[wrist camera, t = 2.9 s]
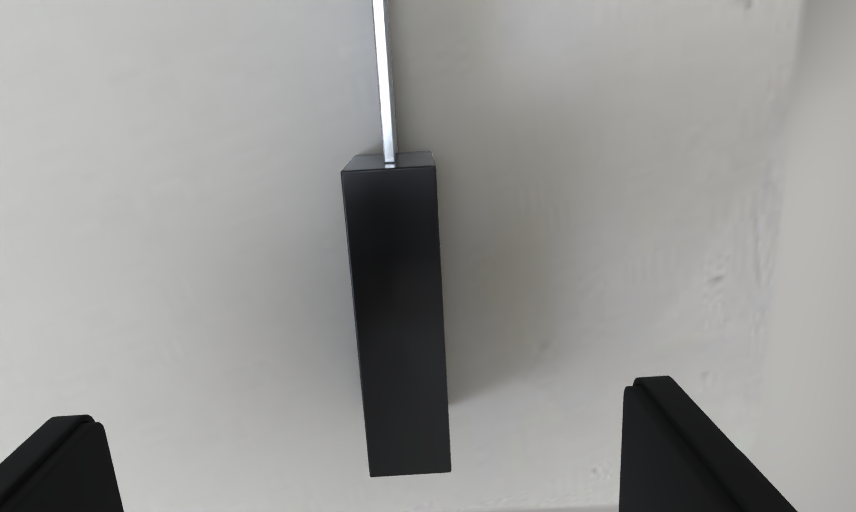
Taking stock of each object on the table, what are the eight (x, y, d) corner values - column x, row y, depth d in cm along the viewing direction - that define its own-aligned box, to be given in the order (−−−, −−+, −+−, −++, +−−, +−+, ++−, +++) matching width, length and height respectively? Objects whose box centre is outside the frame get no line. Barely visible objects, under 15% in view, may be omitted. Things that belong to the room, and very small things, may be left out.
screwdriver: (445, 408, 21) (451, 472, 17) (377, 412, 21) (369, 477, 17) (411, -235, 15) (410, -328, 12) (320, -229, 15) (292, -322, 12)
